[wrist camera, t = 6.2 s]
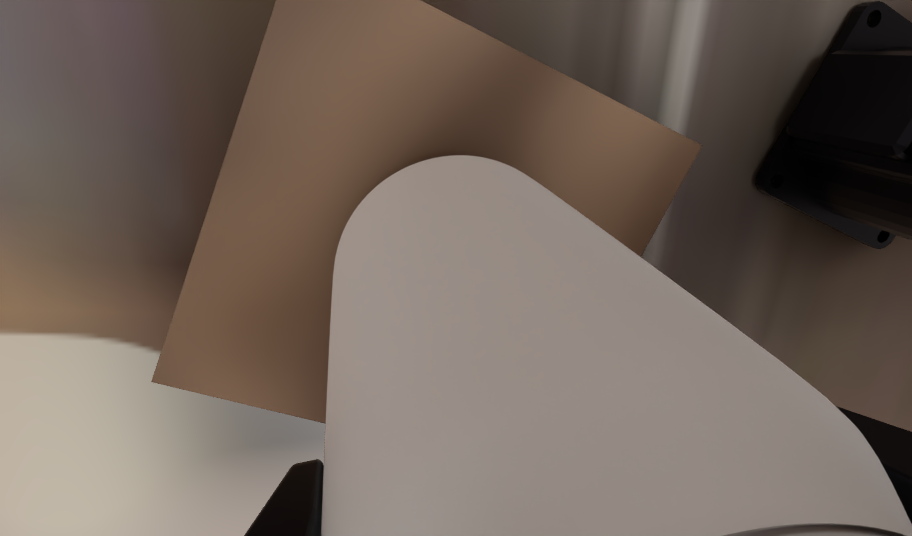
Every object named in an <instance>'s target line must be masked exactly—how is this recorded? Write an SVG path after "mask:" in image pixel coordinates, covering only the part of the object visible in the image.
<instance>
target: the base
mask: <svg viewBox="0 0 912 536" xmlns="http://www.w3.org/2000/svg"><path fill="white" fill-rule="evenodd" d="M701 147H702V145H700V144H698V143H696V142H695V141H693V140H691V139H689V138H687V137H685V136H683V135H681V134H679V133H677V132H675V131H673V130H671V129H669V128H667V127H665V126H664V125H662V124H660V123H658V122H656V121H654V120H652V119H650V118H648V117H646V116H644V115H642V114H640V113H638V112H636V111H634V110H632V109H631V108H629V107H627V106H625V105H623V104H621V103H619V102H617V101H615V100H613V99H611V98H609V97H607V96H605V95H603V94H601V93H600V92H598V91H596V90H594V89H592V88H590V87H588V86H586V85H584V84H582V83H580V82H578V81H576V80H574V79H572V78H570V77H568V76H567V75H565V74H563V73H561V72H559V71H557V70H555V69H553V68H551V67H549V66H547V65H545V64H543V63H541V62H539V61H537V60H536V59H534V58H532V57H530V56H528V55H526V54H524V53H522V52H520V51H518V50H516V49H514V48H512V47H510V46H508V45H506V44H504V43H503V42H501V41H499V40H497V39H495V38H493V37H491V36H489V35H487V34H485V33H483V32H481V31H479V30H477V29H475V28H473V27H472V26H470V25H468V24H466V23H464V22H462V21H460V20H458V19H456V18H454V17H452V16H450V15H448V14H446V13H444V12H442V11H440V10H439V9H437V8H435V7H433V6H431V5H429V4H427V3H425V2H423V1H421V0H276V2H275V5H274V9H273V12H272V15H271V18H270V21H269V24H268V27H267V30H266V33H265V36H264V39H263V42H262V45H261V48H260V51H259V54H258V57H257V61H256V64H255V67H254V70H253V73H252V76H251V79H250V82H249V85H248V88H247V91H246V94H245V97H244V100H243V103H242V106H241V109H240V113H239V116H238V119H237V122H236V125H235V128H234V131H233V134H232V137H231V140H230V143H229V146H228V149H227V152H226V155H225V158H224V161H223V165H222V168H221V171H220V174H219V177H218V180H217V183H216V186H215V189H214V192H213V195H212V198H211V201H210V204H209V207H208V210H207V213H206V216H205V220H204V223H203V226H202V229H201V232H200V235H199V238H198V241H197V244H196V247H195V250H194V253H193V256H192V259H191V262H190V265H189V268H188V272H187V275H186V278H185V281H184V284H183V287H182V290H181V293H180V296H179V299H178V302H177V305H176V308H175V311H174V314H173V317H172V320H171V324H170V327H169V330H168V333H167V336H166V339H165V342H164V345H163V348H162V351H161V354H160V357H159V360H158V363H157V366H156V370H155V372H154V375H153V379H152V382H154V383H158V384H163V385H167V386H171V387H175V388H179V389H183V390H188V391H192V392H196V393H200V394H205V395H209V396H213V397H217V398H221V399H226V400H230V401H234V402H238V403H242V404H246V405H250V406H255V407H259V408H263V409H267V410H271V411H276V412H279V413H284V414H288V415H292V416H296V417H301V418H305V419H309V420H314V421H318V422H321V423H325V424H326V403H327V381H328V360H329V339H330V319H331V301H332V284H333V272H334V263H335V256H336V252H337V248H338V244H339V241H340V238H341V235H342V233H343V230H344V228H345V226H346V224H347V222H348V220H349V219H350V217H351V215H352V214H353V212H354V211H355V209H356V208H357V207H358V205H359V204H360V203H361V201H362V200H363V199H364V198H365V197H366V196H367V195H368V194H369V193H370V192H371V191H372V190H373V189H374V188H375V187H376V186H377V185H379V184H380V183H381V182H383V181H384V180H385V179H387V178H388V177H390V176H391V175H393V174H394V173H396V172H398V171H400V170H402V169H404V168H406V167H408V166H410V165H413V164H415V163H418V162H421V161H424V160H428V159H432V158H437V157H443V156H453V155H468V156H478V157H483V158H488V159H492V160H495V161H499V162H501V163H504V164H506V165H509V166H511V167H513V168H515V169H517V170H519V171H521V172H522V173H524V174H526V175H527V176H529V177H530V178H532V179H533V180H535V181H536V182H538V183H539V184H541V185H542V186H543V187H545V188H546V189H548V190H549V191H550V192H552V193H553V194H555V195H556V196H557V197H559V198H560V199H562V200H563V201H564V202H566V203H567V204H568V205H570V206H571V207H573V208H574V209H575V210H577V211H578V212H580V213H581V214H582V215H584V216H585V217H586V218H588V219H589V220H591V221H592V222H593V223H595V224H596V225H597V226H599V227H600V228H602V229H603V230H604V231H606V232H607V233H608V234H610V235H611V236H612V237H614V238H615V239H617V240H618V241H619V242H621V243H622V244H623V245H625V246H626V247H627V248H629V249H630V250H632V251H633V252H634V253H636V254H637V255H638V256H640V257H641V256H642V254H643V252H644V250H645V248H646V247H647V245H648V243H649V241H650V239H651V238H652V236H653V234H654V232H655V230H656V229H657V227H658V225H659V223H660V221H661V220H662V218H663V216H664V214H665V212H666V210H667V209H668V207H669V205H670V203H671V201H672V200H673V198H674V196H675V194H676V192H677V191H678V189H679V187H680V185H681V183H682V182H683V180H684V178H685V176H686V174H687V173H688V171H689V169H690V167H691V165H692V164H693V162H694V160H695V158H696V156H697V155H698V153H699V151H700V149H701Z"/></svg>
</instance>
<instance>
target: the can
mask: <svg viewBox="0 0 912 536" xmlns="http://www.w3.org/2000/svg"><path fill="white" fill-rule="evenodd" d="M321 536H912V524H911V522H910V520H909V518H908V516H907V514H906V511H905V509H904V507H903V505H902V503H901V501H900V499H899V497H898V495H897V493H896V491H895V489H894V486H893V484H892V482H891V480H890V479H889V477H888V475H887V473H886V471H885V469H884V468H883V466H882V464H881V462H880V460H879V458H878V457H877V455H876V454H875V452H874V451H873V449H872V448H871V446H870V445H869V443H868V442H867V440H866V439H865V437H864V436H863V434H862V433H861V432H860V431H859V429H858V428H857V427H856V426H855V425H854V424H853V423H852V422H851V421H850V420H849V419H848V418H847V417H846V416H845V415H844V414H843V413H842V412H841V411H840V410H839V409H838V408H837V407H836V406H835V405H833V404H832V403H831V402H830V401H829V400H828V399H827V398H826V397H825V396H824V395H822V394H821V393H820V392H819V391H818V390H816V389H815V388H814V387H813V386H811V385H810V384H809V383H808V382H806V381H805V380H804V379H802V378H801V377H800V376H799V375H797V374H796V373H795V372H794V371H792V370H791V369H790V368H789V367H787V366H786V365H785V364H784V363H782V362H781V361H780V360H778V359H777V358H776V357H774V356H773V355H772V354H770V353H769V352H768V351H766V350H765V349H764V348H762V347H761V346H760V345H758V344H757V343H756V342H754V341H753V340H752V339H750V338H749V337H748V336H746V335H745V334H744V333H742V332H741V331H740V330H738V329H737V328H736V327H734V326H733V325H732V324H730V323H729V322H728V321H726V320H725V319H724V318H722V317H721V316H720V315H718V314H717V313H716V312H714V311H713V310H712V309H710V308H709V307H708V306H706V305H705V304H703V303H702V302H701V301H699V300H698V299H697V298H695V297H694V296H693V295H691V294H690V293H689V292H687V291H686V290H685V289H683V288H682V287H680V286H679V285H678V284H676V283H675V282H674V281H672V280H671V279H670V278H668V277H667V276H666V275H664V274H663V273H662V272H660V271H659V270H657V269H656V268H655V267H653V266H652V265H651V264H649V263H648V262H647V261H645V260H644V259H642V258H641V257H640V256H638V255H637V254H636V253H634V252H633V251H632V250H630V249H629V248H627V247H626V246H625V245H623V244H622V243H621V242H619V241H618V240H617V239H615V238H614V237H612V236H611V235H610V234H608V233H607V232H606V231H604V230H603V229H602V228H600V227H599V226H597V225H596V224H595V223H593V222H592V221H591V220H589V219H588V218H586V217H585V216H584V215H582V214H581V213H580V212H578V211H577V210H575V209H574V208H573V207H571V206H570V205H568V204H567V203H566V202H564V201H563V200H562V199H560V198H559V197H557V196H556V195H555V194H553V193H552V192H550V191H549V190H548V189H546V188H545V187H543V186H542V185H541V184H539V183H538V182H536V181H535V180H533V179H532V178H530V177H529V176H527V175H526V174H524V173H522V172H521V171H519V170H517V169H515V168H513V167H511V166H509V165H506V164H504V163H501V162H499V161H495V160H492V159H488V158H483V157H478V156H468V155H453V156H443V157H437V158H432V159H428V160H424V161H421V162H418V163H415V164H413V165H410V166H408V167H406V168H404V169H402V170H400V171H398V172H396V173H394V174H393V175H391V176H390V177H388V178H387V179H385V180H384V181H383V182H381V183H380V184H379V185H377V186H376V187H375V188H374V189H373V190H372V191H371V192H370V193H369V194H368V195H367V196H366V197H365V198H364V199H363V200H362V201H361V203H360V204H359V205H358V207H357V208H356V209H355V211H354V212H353V214H352V215H351V217H350V219H349V220H348V222H347V224H346V226H345V228H344V230H343V233H342V235H341V238H340V241H339V244H338V248H337V252H336V256H335V263H334V272H333V284H332V301H331V319H330V339H329V360H328V381H327V403H326V427H325V449H324V473H323V498H322V524H321Z"/></svg>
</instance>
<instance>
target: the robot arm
mask: <svg viewBox="0 0 912 536" xmlns="http://www.w3.org/2000/svg"><path fill="white" fill-rule="evenodd" d="M869 14H870V21H869V23H868V24H867V18H868V16H869ZM774 175H775V180H774V182H773V183H772V184H770V180H771V178H772V177H773V176H774ZM755 184H756V187H757V189H758V190H759V191H760V192H762V193H764V194H766V195H768V196H770V197H772V198H774V199H776V200H778V201H780V202H782V203H784V204H786V205H788V206H790V207H792V208H794V209H796V210H798V211H800V212H802V213H804V214H806V215H808V216H810V217H812V218H814V219H816V220H818V221H820V222H822V223H824V224H826V225H828V226H830V227H832V228H834V229H836V230H838V231H840V232H842V233H844V234H846V235H848V236H850V237H852V238H854V239H856V240H858V241H860V242H862V243H864V244H866V245H868V246H871V247H873V248H877V249H881V248H884V247H886V246H888V245H889V244H890V243H891V242H892V240H893V239H894V237H895V236H896V235H898V236H901V237H904V238H907V239H910V240H912V23H911V22H910V21H908V20H907V19H906V18H904V17H903V16H901V15H900V14H899V13H897V12H896V11H895V10H893V9H892V8H890V7H889V6H888V5H886V4H885V3H883V2H880V1H874V2H865V3H862V4H860V5H859V6H857V7H856V9H855V10H854V11H853V12H852V14H851V16H850V18H849V19H848V21H847V23H846V24H845V26H844V28H843V29H842V31H841V33H840V34H839V36H838V38H837V40H836V41H835V43H834V45H833V46H832V48H831V50H830V51H829V53H828V55H827V57H826V58H825V60H824V62H823V63H822V65H821V67H820V68H819V70H818V72H817V74H816V75H815V77H814V79H813V80H812V82H811V84H810V85H809V87H808V89H807V91H806V92H805V94H804V96H803V97H802V99H801V101H800V102H799V104H798V106H797V107H796V109H795V111H794V113H793V114H792V116H791V118H790V119H789V121H788V123H787V124H786V126H785V128H784V130H783V131H782V133H781V135H780V136H779V138H778V140H777V141H776V143H775V145H774V147H773V148H772V150H771V152H770V153H769V155H768V157H767V158H766V160H765V162H764V164H763V165H762V167H761V169H760V170H759V172H758V174H757V177H756V183H755ZM878 234H879V235H878ZM836 407H837V406H836ZM837 408H838V409H839V410H840V411H841V412H842V413H843V414H844V415H845V416H846V417H847V418H848V419H849V420H850V421H851V422H852V423H853V424H854V425H855V426H856V427H857V428H858V429H859V431H860V432H861V433H862V434H863V436H864V437H865V439H866V440H867V442H868V443H869V445H870V446H871V448H872V449H873V451H874V452H875V454H876V455H877V457H878V458H879V460H880V462H881V464H882V466H883V468H884V469H885V471H886V473H887V475H888V477H889V479H890V480H891V482H892V484H893V486H894V489H895V491H896V493H897V495H898V497H899V499H900V501H901V503H902V505H903V507H904V509H905V511H906V514H907V516H908V518H909V520H910V522H911V524H912V432H910V431H907V430H904V429H901V428H898V427H896V426H893V425H890V424H887V423H884V422H881V421H878V420H875V419H872V418H869V417H866V416H863V415H860V414H857V413H854V412H851V411H848V410H845V409H843V408H840V407H837ZM323 473H324V465H323V463H322V462H321V461H320V460H318V459H316V460H312V461H307V462H302V463H297V464H295V465H293V466H292V467H291V468H290V469H289V471H288V472H287V474H286V475H285V477H284V478H283V480H282V481H281V483H280V484H279V486H278V487H277V488H276V490H275V491H274V493H273V494H272V496H271V497H270V499H269V500H268V502H267V503H266V505H265V506H264V507H263V509H262V510H261V512H260V513H259V515H258V516H257V518H256V519H255V521H254V522H253V524H252V525H251V526H250V528H249V530H248V531H247V533H246V534H245V535H244V536H321V524H322V498H323Z"/></svg>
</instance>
